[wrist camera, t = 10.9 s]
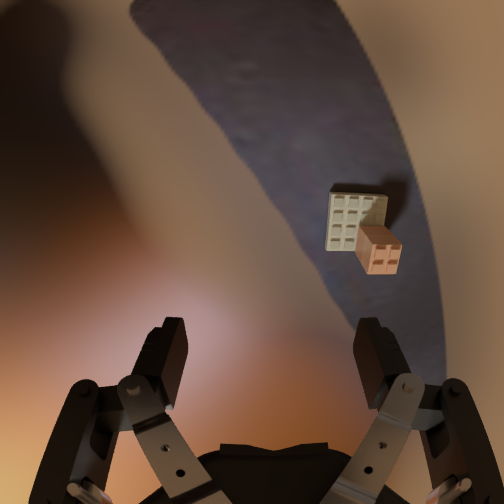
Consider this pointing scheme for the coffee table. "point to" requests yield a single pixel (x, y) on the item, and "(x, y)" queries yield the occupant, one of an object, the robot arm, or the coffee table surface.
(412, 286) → the coffee table surface
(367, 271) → the brick stack
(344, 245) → the stud plate
